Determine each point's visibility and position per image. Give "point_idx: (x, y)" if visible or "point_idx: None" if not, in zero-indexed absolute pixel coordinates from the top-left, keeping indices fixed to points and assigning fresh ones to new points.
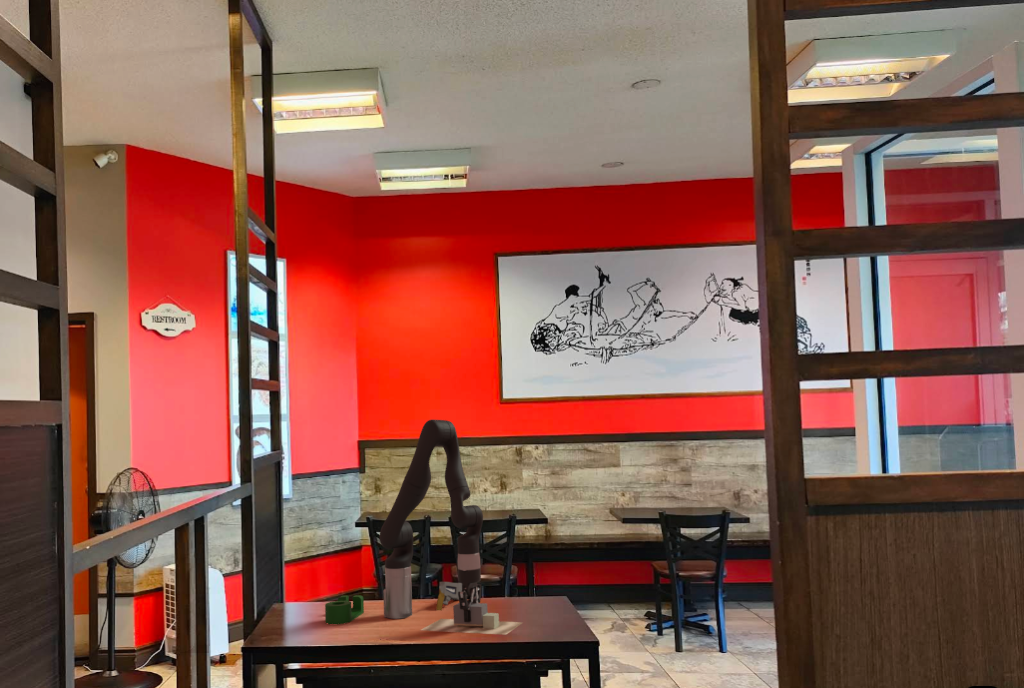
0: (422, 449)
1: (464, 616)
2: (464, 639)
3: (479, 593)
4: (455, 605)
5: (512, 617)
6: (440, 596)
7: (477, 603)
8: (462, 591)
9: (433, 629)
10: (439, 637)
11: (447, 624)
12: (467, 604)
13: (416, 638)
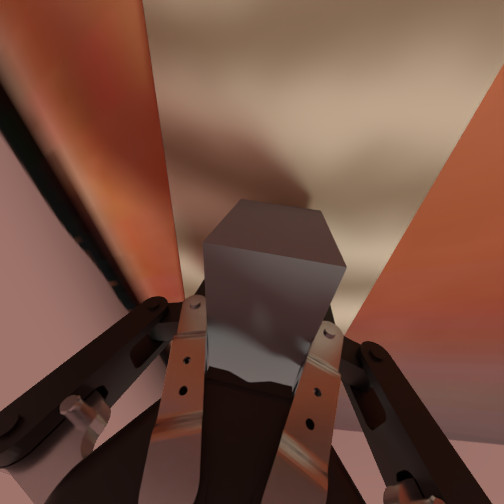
0: None
1: (204, 279)
2: (147, 259)
3: (373, 455)
4: (220, 256)
5: (450, 353)
6: None
7: (291, 368)
8: (16, 473)
9: (182, 79)
10: (131, 161)
11: (308, 130)
12: (151, 354)
13: (57, 20)
